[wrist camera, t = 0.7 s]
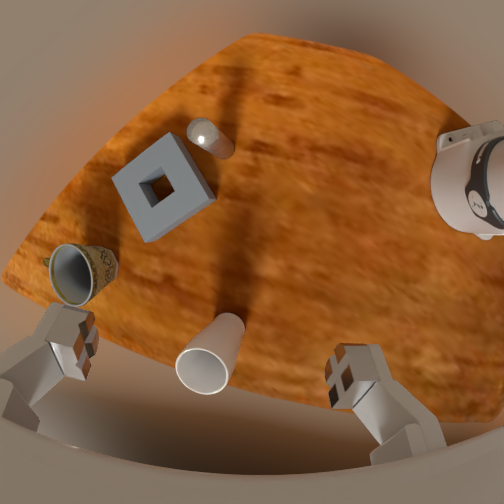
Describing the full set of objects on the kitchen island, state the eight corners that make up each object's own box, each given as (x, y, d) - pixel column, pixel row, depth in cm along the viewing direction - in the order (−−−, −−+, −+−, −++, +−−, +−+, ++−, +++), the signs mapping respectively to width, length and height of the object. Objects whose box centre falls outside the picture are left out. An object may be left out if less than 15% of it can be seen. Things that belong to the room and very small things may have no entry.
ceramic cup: (130, 245, 49) (96, 254, 39) (123, 299, 51) (90, 316, 41) (76, 227, 51) (40, 232, 41) (71, 277, 52) (36, 288, 43)
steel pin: (228, 135, 44) (204, 112, 32) (238, 152, 44) (218, 133, 33) (210, 146, 45) (182, 128, 33) (221, 163, 45) (194, 149, 33)
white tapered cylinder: (248, 348, 48) (228, 399, 34) (208, 342, 49) (175, 389, 35) (251, 309, 47) (230, 351, 33) (209, 304, 48) (173, 342, 34)
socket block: (179, 137, 45) (169, 131, 41) (216, 199, 46) (209, 198, 42) (124, 179, 48) (111, 178, 44) (156, 240, 48) (145, 242, 44)
